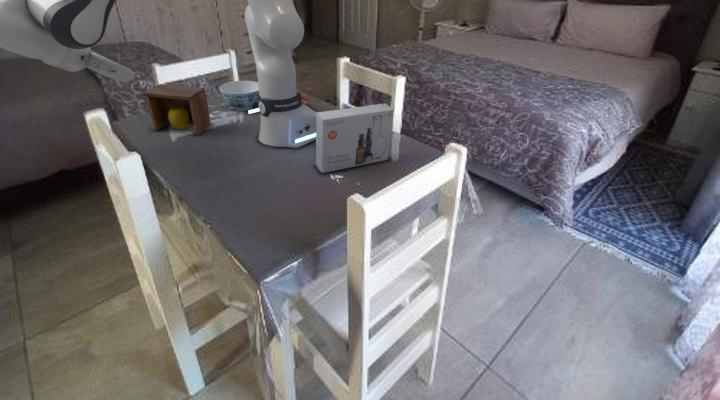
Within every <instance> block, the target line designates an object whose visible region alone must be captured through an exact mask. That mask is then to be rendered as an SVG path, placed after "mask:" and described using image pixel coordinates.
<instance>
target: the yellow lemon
mask: <svg viewBox="0 0 720 400" xmlns="http://www.w3.org/2000/svg"><path fill="white" fill-rule="evenodd" d="M168 119H169V121H170V122H169V123H170V124H171V126H172V127H173V128H174V129H176V130H183V129H187V127H188V125H190V124H189V121H190V115H189V112H188V110H187V109H186V108H184V107H181V106H176V107H173V108H171V109H170V111H169V113H168Z"/></svg>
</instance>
